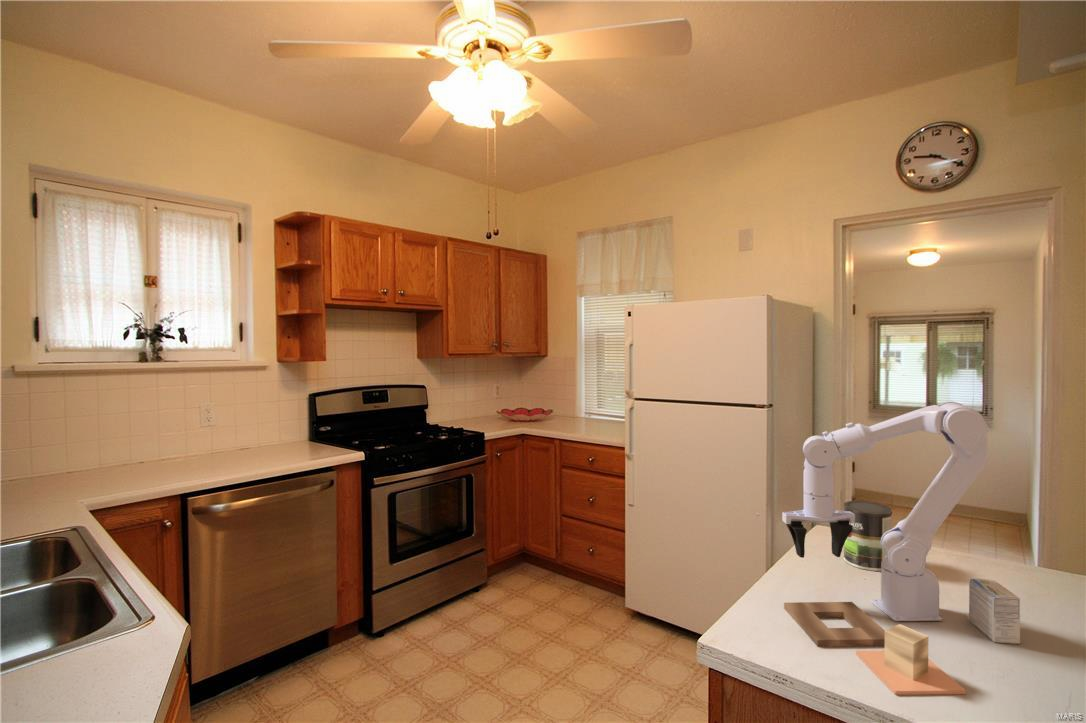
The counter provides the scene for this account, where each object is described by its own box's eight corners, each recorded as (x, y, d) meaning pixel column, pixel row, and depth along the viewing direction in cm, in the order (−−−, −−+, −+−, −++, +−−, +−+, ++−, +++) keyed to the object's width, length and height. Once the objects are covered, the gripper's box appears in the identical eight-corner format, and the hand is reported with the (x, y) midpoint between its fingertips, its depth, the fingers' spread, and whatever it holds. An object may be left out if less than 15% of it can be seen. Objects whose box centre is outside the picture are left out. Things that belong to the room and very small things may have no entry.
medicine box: (1020, 645, 98) (1021, 598, 98) (992, 643, 99) (993, 596, 98) (994, 622, 106) (994, 579, 105) (968, 620, 106) (968, 577, 106)
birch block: (899, 657, 94) (899, 624, 93) (928, 671, 90) (928, 636, 89) (884, 665, 92) (884, 631, 91) (913, 680, 88) (913, 644, 87)
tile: (918, 653, 96) (918, 650, 96) (965, 694, 85) (965, 690, 85) (855, 654, 96) (855, 650, 96) (895, 694, 85) (895, 691, 85)
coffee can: (862, 573, 129) (862, 514, 128) (834, 555, 139) (834, 501, 138) (902, 570, 130) (902, 512, 129) (871, 553, 140) (872, 499, 139)
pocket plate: (851, 607, 112) (851, 601, 112) (894, 645, 98) (894, 639, 98) (784, 608, 113) (784, 602, 113) (817, 646, 99) (817, 640, 99)
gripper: (842, 487, 119) (842, 547, 120) (776, 488, 120) (776, 548, 120) (860, 496, 112) (860, 560, 113) (790, 497, 113) (790, 561, 113)
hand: (818, 555), depth 116 cm, fingers open, 7 cm apart
